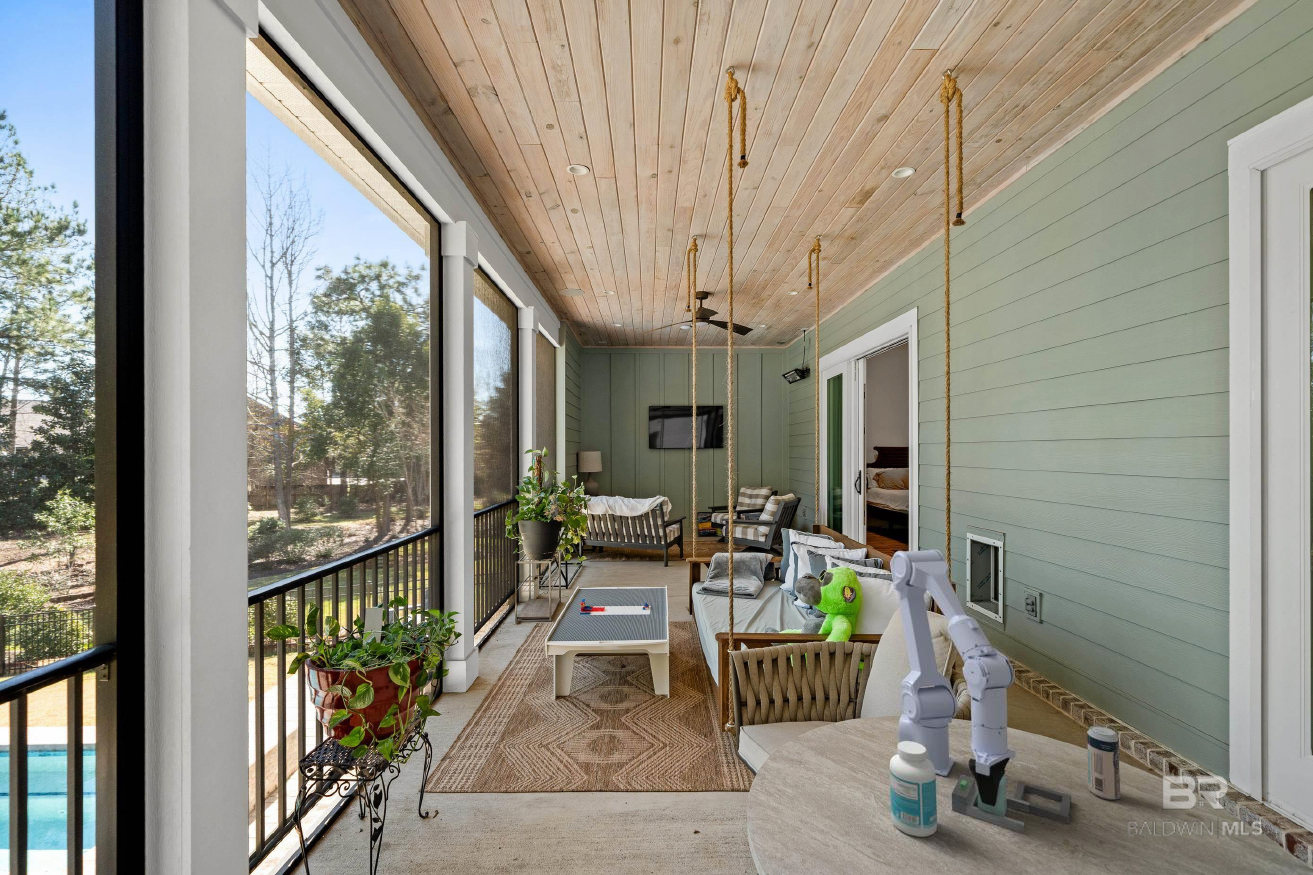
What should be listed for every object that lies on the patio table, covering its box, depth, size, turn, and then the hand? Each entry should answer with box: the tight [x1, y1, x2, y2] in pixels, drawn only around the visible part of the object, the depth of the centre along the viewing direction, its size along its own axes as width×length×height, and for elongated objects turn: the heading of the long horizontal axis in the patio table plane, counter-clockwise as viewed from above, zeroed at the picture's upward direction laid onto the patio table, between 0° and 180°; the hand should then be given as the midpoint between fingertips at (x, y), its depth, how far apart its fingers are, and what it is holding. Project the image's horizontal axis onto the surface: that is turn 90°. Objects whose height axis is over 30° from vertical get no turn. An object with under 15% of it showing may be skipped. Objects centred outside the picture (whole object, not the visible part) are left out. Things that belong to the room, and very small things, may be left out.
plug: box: [976, 774, 1008, 817], centre depth 107 cm, size 4×4×7 cm
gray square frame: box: [1012, 779, 1072, 825], centre depth 109 cm, size 8×8×1 cm
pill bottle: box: [889, 741, 938, 838], centre depth 103 cm, size 8×7×14 cm
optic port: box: [951, 773, 1031, 835], centre depth 107 cm, size 11×8×4 cm
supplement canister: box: [1086, 725, 1121, 801], centre depth 113 cm, size 5×5×12 cm
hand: (990, 797), depth 107 cm, fingers closed on plug, 4 cm apart
